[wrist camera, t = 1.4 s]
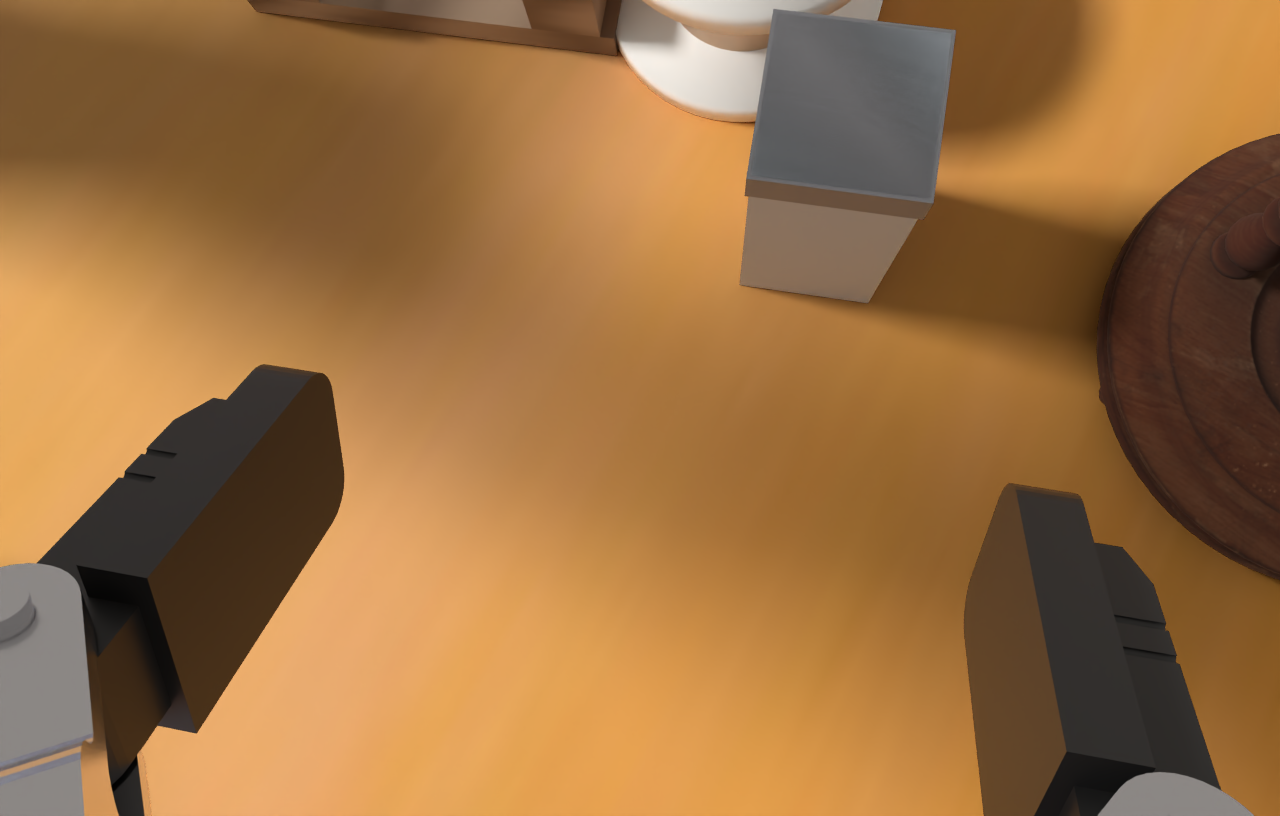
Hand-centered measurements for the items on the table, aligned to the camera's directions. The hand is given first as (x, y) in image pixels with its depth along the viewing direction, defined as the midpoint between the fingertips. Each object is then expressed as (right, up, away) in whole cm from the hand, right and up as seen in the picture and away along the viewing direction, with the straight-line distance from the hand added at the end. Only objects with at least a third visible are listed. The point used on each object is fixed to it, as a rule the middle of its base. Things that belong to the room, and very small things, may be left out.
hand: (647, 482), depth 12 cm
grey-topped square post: (+6, +7, +23) cm, 25 cm away
